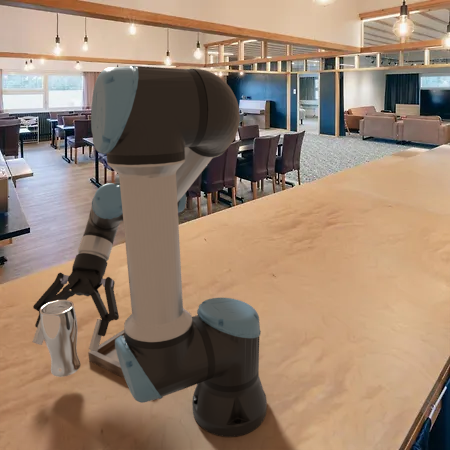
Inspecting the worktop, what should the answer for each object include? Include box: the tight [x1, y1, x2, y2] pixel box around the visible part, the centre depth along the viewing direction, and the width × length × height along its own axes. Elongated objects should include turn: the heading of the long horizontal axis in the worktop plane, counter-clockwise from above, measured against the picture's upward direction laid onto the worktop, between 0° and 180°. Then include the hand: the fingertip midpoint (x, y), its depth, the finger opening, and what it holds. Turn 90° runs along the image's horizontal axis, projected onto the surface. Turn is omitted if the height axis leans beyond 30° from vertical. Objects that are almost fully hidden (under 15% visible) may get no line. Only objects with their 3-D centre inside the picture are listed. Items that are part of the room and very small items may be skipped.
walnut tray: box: [87, 329, 125, 379], centre depth 98 cm, size 20×20×2 cm
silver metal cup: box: [40, 299, 81, 378], centre depth 84 cm, size 7×7×15 cm
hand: (64, 347), depth 86 cm, fingers open, 13 cm apart
